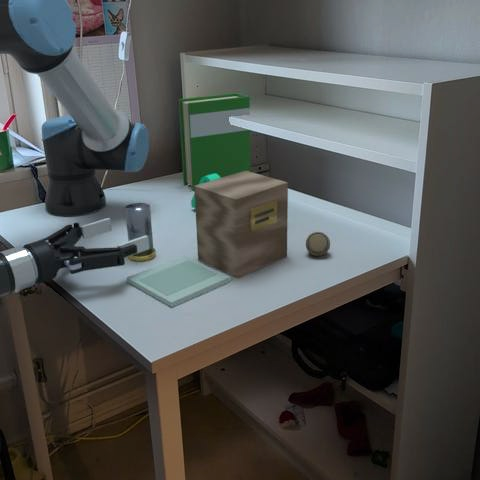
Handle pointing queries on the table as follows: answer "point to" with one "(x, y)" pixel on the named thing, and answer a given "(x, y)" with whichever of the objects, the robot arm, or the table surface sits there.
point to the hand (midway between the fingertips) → (128, 232)
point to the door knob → (317, 243)
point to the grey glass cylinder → (140, 229)
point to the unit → (241, 222)
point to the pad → (178, 280)
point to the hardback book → (213, 136)
